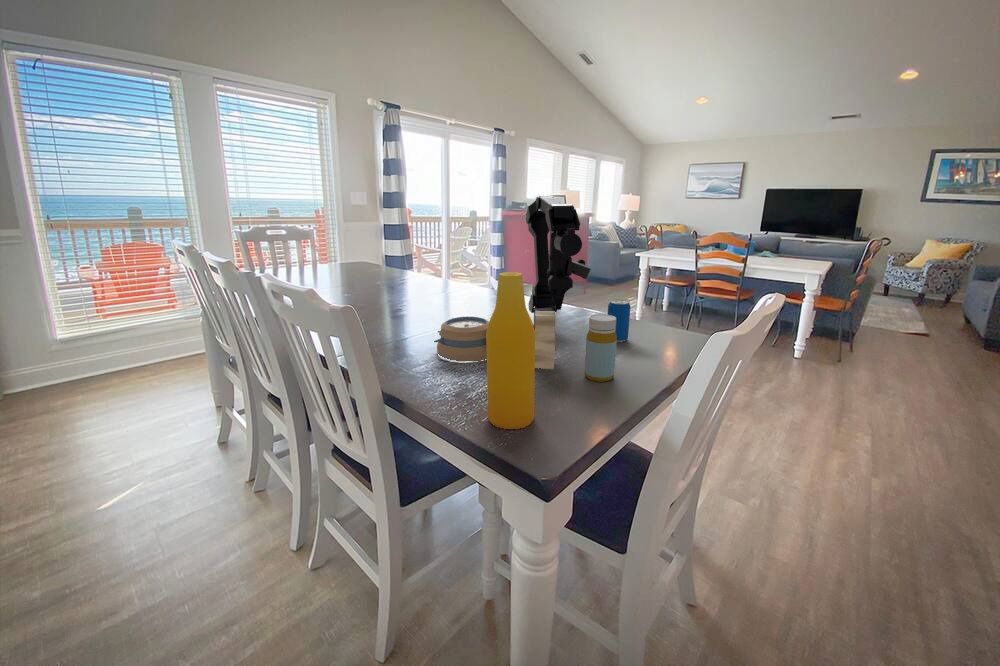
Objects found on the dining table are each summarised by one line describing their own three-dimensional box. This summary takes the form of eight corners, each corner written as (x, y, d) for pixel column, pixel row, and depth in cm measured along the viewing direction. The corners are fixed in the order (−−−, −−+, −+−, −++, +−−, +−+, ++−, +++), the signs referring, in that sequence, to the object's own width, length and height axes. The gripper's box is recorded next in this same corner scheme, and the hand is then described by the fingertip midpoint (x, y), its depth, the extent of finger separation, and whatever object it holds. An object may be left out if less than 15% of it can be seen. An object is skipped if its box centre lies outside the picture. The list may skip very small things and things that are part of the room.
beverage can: (625, 336, 139) (628, 299, 135) (629, 343, 132) (632, 304, 129) (604, 336, 139) (607, 298, 136) (607, 342, 133) (609, 303, 130)
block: (534, 361, 119) (535, 310, 115) (553, 361, 118) (554, 310, 114) (534, 368, 114) (535, 315, 110) (554, 369, 113) (555, 316, 109)
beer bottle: (479, 425, 86) (475, 276, 77) (499, 405, 94) (497, 268, 85) (524, 435, 82) (525, 279, 74) (540, 413, 90) (543, 271, 82)
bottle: (615, 373, 110) (619, 314, 106) (612, 384, 104) (616, 322, 100) (586, 370, 112) (589, 312, 108) (582, 380, 106) (585, 320, 102)
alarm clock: (438, 314, 131) (516, 313, 132) (440, 344, 134) (516, 342, 134) (431, 331, 115) (520, 329, 115) (433, 364, 118) (520, 363, 118)
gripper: (593, 256, 112) (590, 315, 117) (585, 247, 130) (583, 299, 135) (549, 256, 113) (548, 315, 118) (547, 247, 131) (546, 299, 136)
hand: (558, 306), depth 126 cm, fingers open, 6 cm apart
